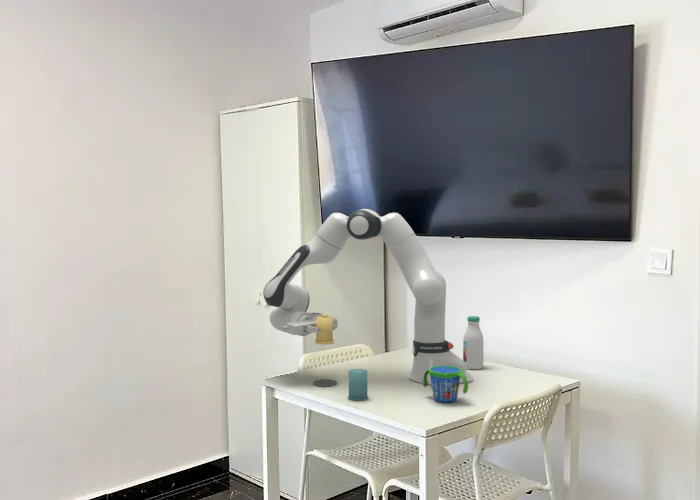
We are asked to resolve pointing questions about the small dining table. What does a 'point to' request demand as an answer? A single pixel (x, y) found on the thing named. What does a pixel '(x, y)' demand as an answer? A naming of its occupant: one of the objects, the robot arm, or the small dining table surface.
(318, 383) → the mat
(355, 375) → the canister
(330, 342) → the tan cylinder
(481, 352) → the milk bottle
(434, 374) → the snack cup
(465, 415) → the small dining table surface
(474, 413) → the small dining table surface
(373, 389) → the small dining table surface
